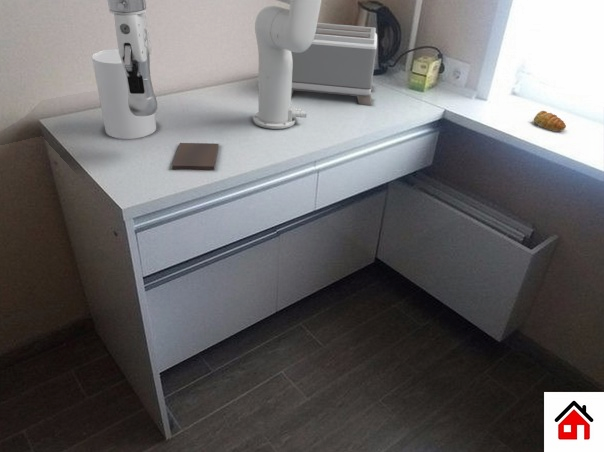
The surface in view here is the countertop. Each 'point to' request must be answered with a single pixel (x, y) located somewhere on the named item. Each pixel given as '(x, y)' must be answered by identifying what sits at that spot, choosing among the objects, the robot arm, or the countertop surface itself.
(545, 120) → the pastry
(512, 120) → the countertop surface
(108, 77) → the canister
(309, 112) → the countertop surface
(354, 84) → the toaster
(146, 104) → the silver bottle
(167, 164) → the countertop surface
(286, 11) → the robot arm
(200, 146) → the walnut board
